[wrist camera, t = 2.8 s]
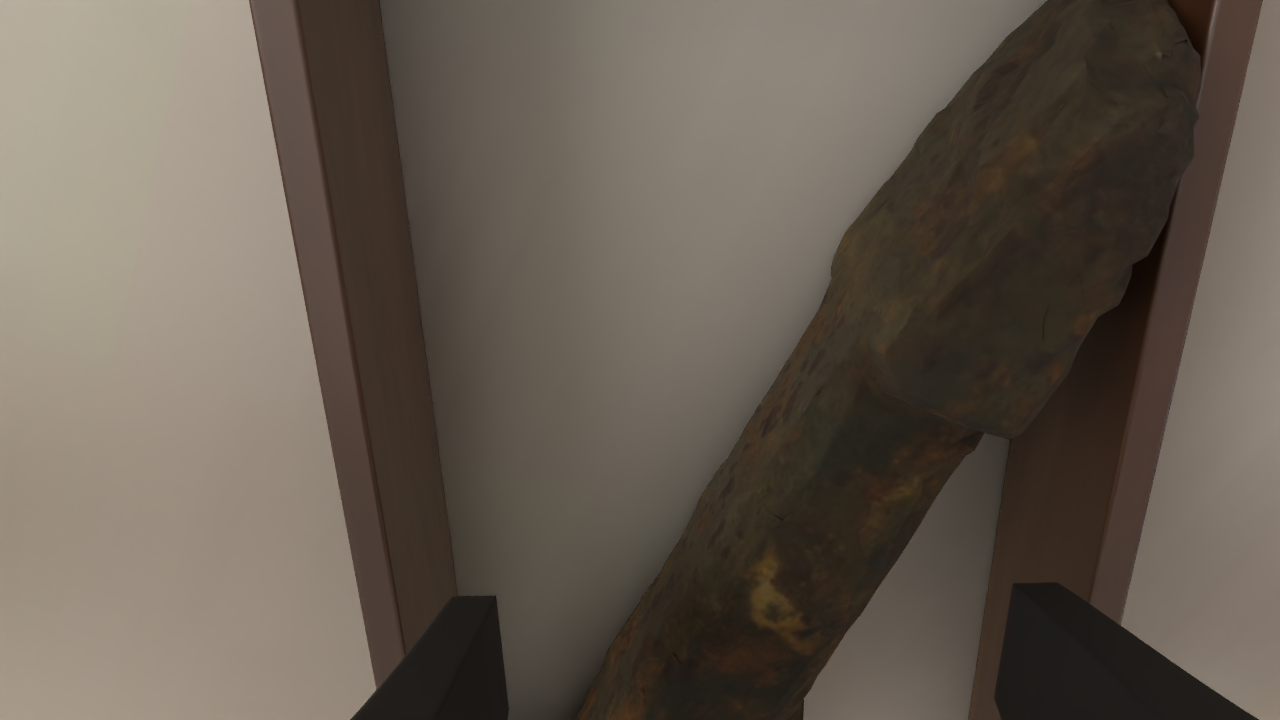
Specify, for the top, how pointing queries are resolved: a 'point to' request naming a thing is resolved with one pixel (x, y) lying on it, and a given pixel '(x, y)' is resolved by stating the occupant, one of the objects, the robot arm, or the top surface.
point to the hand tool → (918, 356)
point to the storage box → (398, 376)
